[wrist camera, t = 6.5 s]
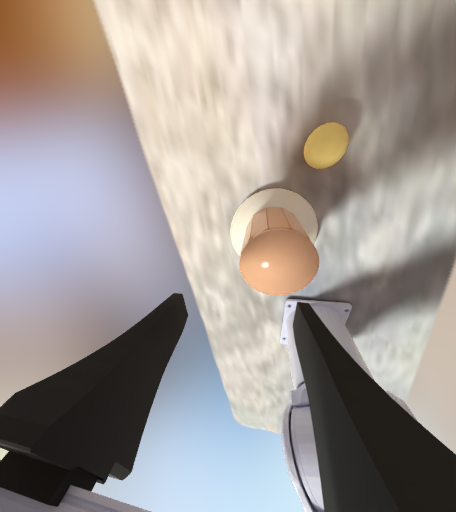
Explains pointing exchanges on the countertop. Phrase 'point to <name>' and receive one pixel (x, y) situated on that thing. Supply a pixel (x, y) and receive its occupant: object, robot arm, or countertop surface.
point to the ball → (326, 145)
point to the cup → (277, 253)
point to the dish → (273, 199)
